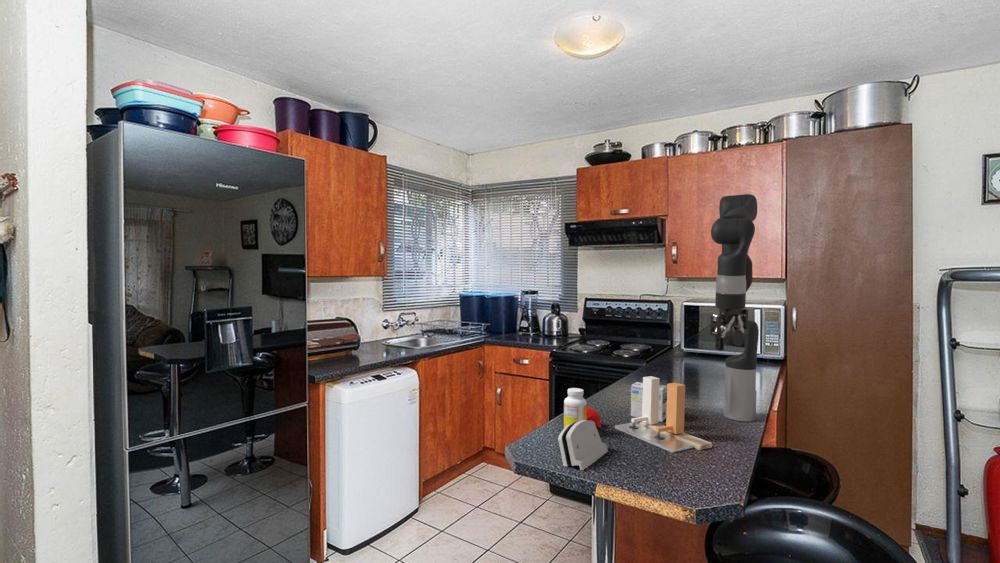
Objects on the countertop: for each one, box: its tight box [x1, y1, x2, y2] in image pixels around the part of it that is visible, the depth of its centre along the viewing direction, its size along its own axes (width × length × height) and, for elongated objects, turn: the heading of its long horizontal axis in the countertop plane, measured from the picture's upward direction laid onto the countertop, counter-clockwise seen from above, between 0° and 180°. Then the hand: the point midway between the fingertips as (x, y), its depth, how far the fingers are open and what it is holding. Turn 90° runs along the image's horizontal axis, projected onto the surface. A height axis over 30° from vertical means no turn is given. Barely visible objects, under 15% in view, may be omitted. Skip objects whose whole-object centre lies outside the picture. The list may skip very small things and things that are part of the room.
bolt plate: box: [614, 422, 693, 454], centre depth 133 cm, size 8×22×1 cm, turn 29°
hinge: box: [557, 420, 609, 471], centre depth 118 cm, size 17×5×10 cm, turn 145°
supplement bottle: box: [563, 387, 588, 429], centre depth 136 cm, size 7×7×13 cm
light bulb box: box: [630, 381, 667, 423], centre depth 154 cm, size 11×7×11 cm, turn 58°
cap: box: [586, 406, 602, 429], centre depth 142 cm, size 8×6×6 cm
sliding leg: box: [656, 382, 686, 437], centre depth 133 cm, size 9×4×14 cm, turn 119°
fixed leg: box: [630, 375, 661, 427], centre depth 141 cm, size 9×4×14 cm, turn 119°
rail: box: [638, 421, 713, 451], centre depth 135 cm, size 5×22×1 cm, turn 29°
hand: (728, 347), depth 129 cm, fingers open, 8 cm apart
